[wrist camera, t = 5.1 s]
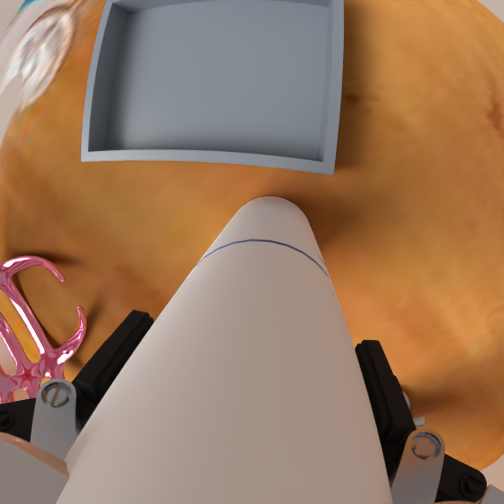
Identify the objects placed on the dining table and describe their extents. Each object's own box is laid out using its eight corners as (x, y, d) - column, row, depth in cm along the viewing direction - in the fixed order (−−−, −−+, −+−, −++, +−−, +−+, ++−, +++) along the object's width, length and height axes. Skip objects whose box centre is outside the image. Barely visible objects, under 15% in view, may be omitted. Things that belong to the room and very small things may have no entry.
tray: (335, 7, 17) (343, -14, 13) (324, 171, 22) (333, 175, 18) (126, 12, 18) (107, -2, 14) (105, 158, 23) (80, 161, 20)
